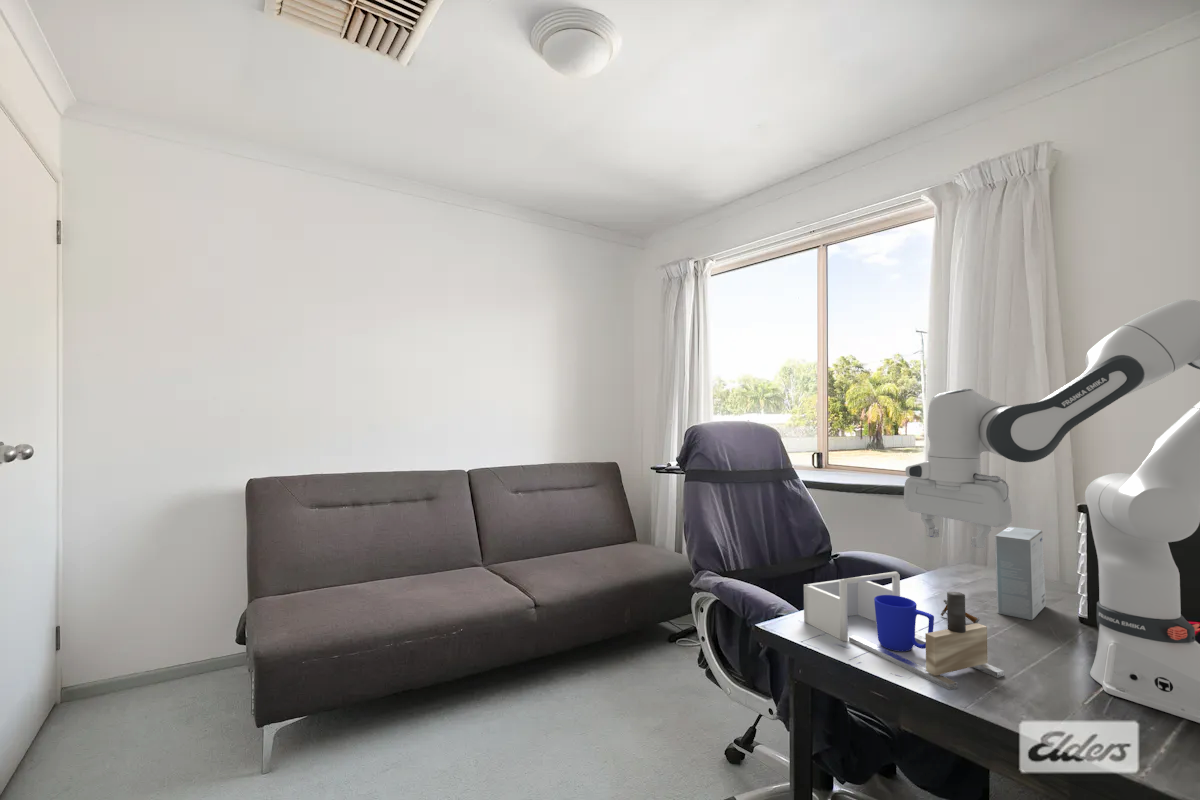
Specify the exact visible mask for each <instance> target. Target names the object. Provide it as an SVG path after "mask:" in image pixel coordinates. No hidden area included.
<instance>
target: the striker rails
mask: <svg viewBox="0 0 1200 800" xmlns="http://www.w3.org/2000/svg"><path fill="white" fill-rule="evenodd" d="M915 641H916V642H917V643H918V644H921V645H923V644H925V642H926V637H923V636H921V635H918V634H916V633H915ZM848 642H850V643H852V644H854V645H856V646H859V647H860V648H863V649H864V650H866V651H868V652H871V653H872V654H875V655H876V656H879V657H880V658H883V659H885V660H887V661H889V662H891V663H893V664H895V665H897V666H899V667H901V668H903V669H905V670H908V671H910V672H911V673H912V674H913V673H914V674H916V675H918V676H919V677H922V678H924V679H926V680H928V681H929V682H932V683H934V684H936V685H939V686H940V687H943V688H944V689H946V690H948V691H951V690H956V689H957V688H958V682H957V681H954V680H952V679H950V678H948V677H945V676H943V674H940V675H936V676H935V675H933V674H931V673H929V672H927V671H926V666H922V665H920V664H918V663H916V662H914V661H912V660H909V659H907V658H905V657H903V656H901V655H898V654H897V653H894V652H893V651H890V650H889V649H887V648H885V647H883V646H881V645H878V644H875V643H873V642H872V641H869V640H867V639H864V638H863V637H860V636H858V635H850V636H848ZM972 668H974V669H976V670H979V671H981V672H983V673H985V674H988V675H990V676H993V677H995V678H1002V677H1004V676H1005V670H1003V669H1001V668H999V667H996V666H994V665H991V664H989V663H986V664H982V665H978V666H973V667H972Z"/></svg>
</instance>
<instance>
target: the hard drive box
mask: <svg viewBox="0 0 1200 800" xmlns="http://www.w3.org/2000/svg"><path fill="white" fill-rule="evenodd" d="M994 552H995V553H994V555H995V557H994V558H995V581H996V582H995V584H996V585H995V588H996V589H995V590H996V612H997V614H999V615H1005V616H1009V617H1014V618H1019V619H1024V620H1027V621H1028V620H1029V621H1033V620H1034V619H1035V618H1036V617H1037V616H1038V614H1039V613H1040V612H1041V611H1042V610H1043V609H1044V608H1045V607H1046V604H1047V602H1046V579H1045V577H1046V576H1045V559H1044V557H1045V556H1044V554H1045V553H1044V534H1043V530H1041V529H1034V528H1033V529H1032V528H1027V527H1026V528H1024V527H1017V526H1007V528H1006V527H1005V529H1003V530H1001V531H1000V532H999V533H997V534H996V535H994Z"/></svg>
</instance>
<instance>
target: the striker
mask: <svg viewBox="0 0 1200 800" xmlns="http://www.w3.org/2000/svg"><path fill="white" fill-rule="evenodd" d="M946 601H947V611H946V613H947V614H946V616H947V617H946V619H947V628H945V629H941V630H936V631H933V632H930V633H928V632H926V633H925V637H924V638H926V648H925V668H926V671H927V672H929V673H931V674H933V675H935V676H936V675H943V674H947V673H951V672H956V671H960V670H964V669H969V668H973V666H978V665H982V664H986V663H987V664H989V662H988V661H989V660H988V627H987V626H986V625H984V624H980V623H979V622H978V623H975V624H974V623H971V624H966V621H967V620H966V619H967V618H966V617H965V612H966V594H965V593H962V592H957V591H946Z"/></svg>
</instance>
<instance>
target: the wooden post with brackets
mask: <svg viewBox="0 0 1200 800" xmlns="http://www.w3.org/2000/svg"><path fill="white" fill-rule="evenodd" d="M943 603H944V605H945V607H944V608H943V610H942V611H941V613H940V616H941V617H943V616H944V615H945V614H946V615H947V599H943ZM965 618H966V619H968V620H970V621H971V622H972V624H975V623H978V624H979V621H980V619H981V617H975V616H974V615H972V614H969V613H967V612H966V611H965Z"/></svg>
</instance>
